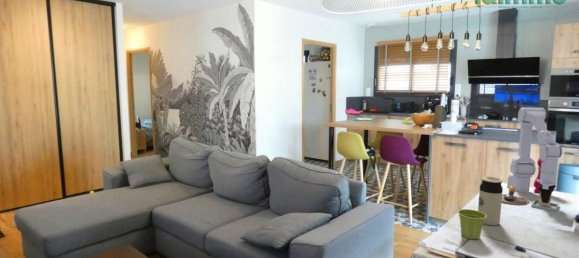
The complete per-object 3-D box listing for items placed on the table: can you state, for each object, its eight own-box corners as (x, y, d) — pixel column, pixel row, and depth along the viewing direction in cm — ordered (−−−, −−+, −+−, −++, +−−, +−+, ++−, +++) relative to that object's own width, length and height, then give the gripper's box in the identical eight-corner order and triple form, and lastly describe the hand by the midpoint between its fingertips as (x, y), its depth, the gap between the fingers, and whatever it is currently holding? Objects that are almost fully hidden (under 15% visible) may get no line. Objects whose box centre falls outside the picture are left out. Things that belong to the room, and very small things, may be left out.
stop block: (539, 202, 163) (540, 189, 162) (550, 204, 161) (551, 191, 160) (538, 204, 160) (539, 191, 159) (549, 206, 158) (550, 193, 157)
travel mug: (496, 219, 149) (500, 177, 147) (502, 227, 141) (506, 182, 139) (475, 217, 151) (478, 175, 149) (479, 224, 144) (483, 180, 141)
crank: (507, 194, 176) (507, 185, 176) (516, 196, 174) (517, 187, 173) (503, 198, 169) (503, 189, 169) (512, 200, 167) (513, 191, 166)
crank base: (493, 194, 181) (493, 191, 181) (531, 202, 171) (531, 198, 170) (485, 203, 169) (485, 199, 169) (525, 211, 159) (526, 207, 158)
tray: (533, 204, 167) (534, 199, 167) (558, 209, 161) (559, 203, 161) (530, 209, 160) (531, 204, 160) (556, 215, 154) (557, 209, 154)
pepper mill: (529, 192, 185) (533, 154, 183) (538, 190, 188) (542, 152, 186) (544, 196, 179) (548, 156, 176) (553, 194, 182) (557, 155, 179)
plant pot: (460, 228, 140) (461, 207, 138) (487, 235, 134) (489, 213, 133) (453, 236, 132) (454, 214, 131) (481, 244, 127) (483, 220, 125)
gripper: (539, 167, 166) (537, 195, 168) (535, 173, 155) (532, 203, 157) (558, 169, 162) (555, 198, 164) (555, 175, 151) (552, 207, 153)
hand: (545, 201), depth 160 cm, fingers closed on stop block, 4 cm apart
